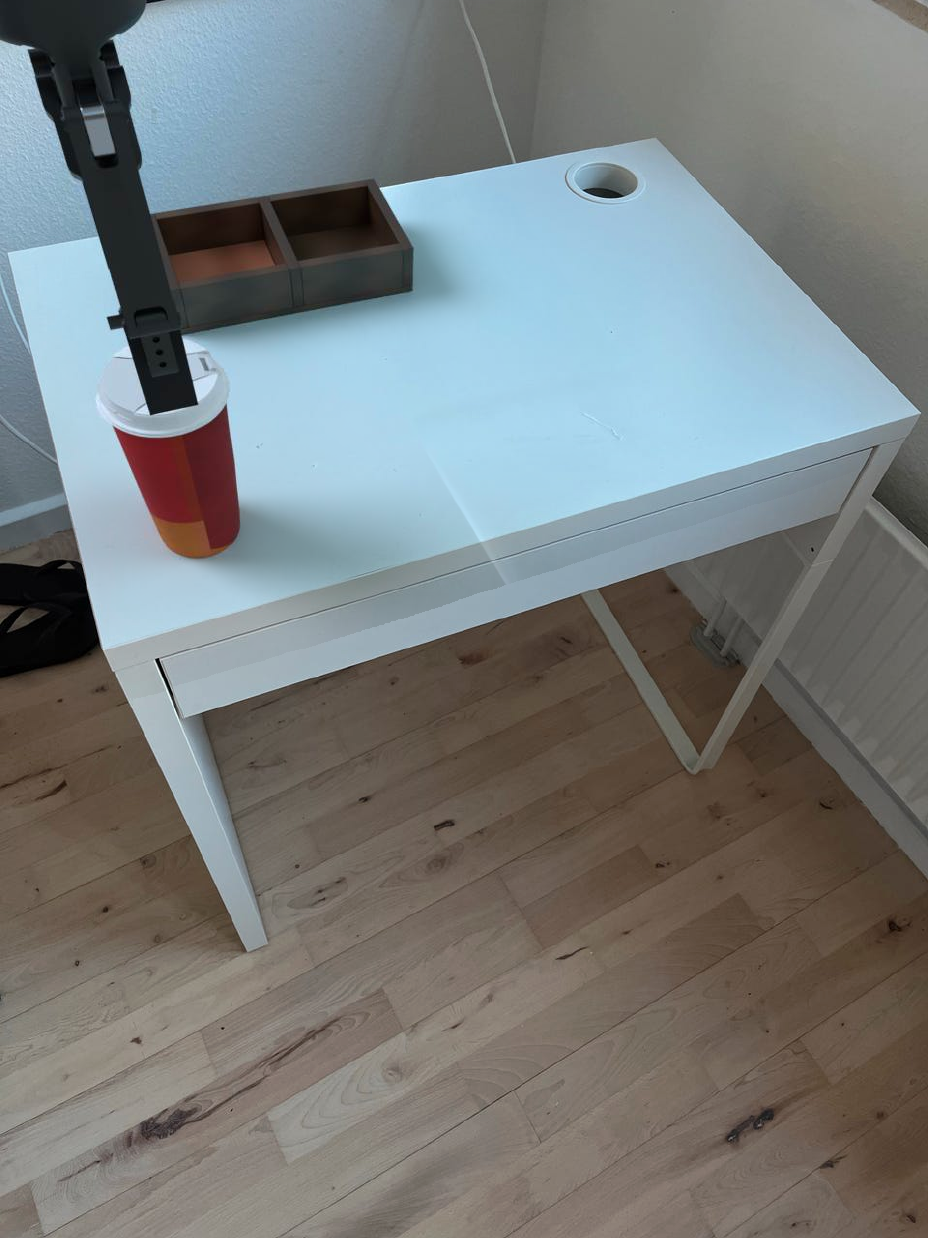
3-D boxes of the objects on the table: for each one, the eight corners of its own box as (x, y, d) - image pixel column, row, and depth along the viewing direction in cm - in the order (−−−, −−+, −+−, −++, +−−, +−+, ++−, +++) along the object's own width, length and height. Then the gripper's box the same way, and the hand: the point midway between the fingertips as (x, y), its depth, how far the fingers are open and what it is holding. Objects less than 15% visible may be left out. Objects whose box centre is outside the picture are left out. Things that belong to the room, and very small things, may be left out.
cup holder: (178, 335, 83) (168, 291, 79) (153, 258, 89) (143, 214, 85) (412, 290, 89) (413, 247, 85) (374, 221, 94) (374, 177, 91)
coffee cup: (236, 474, 74) (204, 318, 62) (270, 550, 70) (243, 400, 58) (130, 505, 72) (75, 349, 60) (159, 585, 68) (106, 436, 56)
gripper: (190, 42, 33) (264, 460, 51) (81, -201, 46) (170, 202, 63) (-35, 69, 31) (122, 494, 49) (-85, -192, 44) (55, 220, 61)
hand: (150, 330), depth 56 cm, fingers open, 13 cm apart
